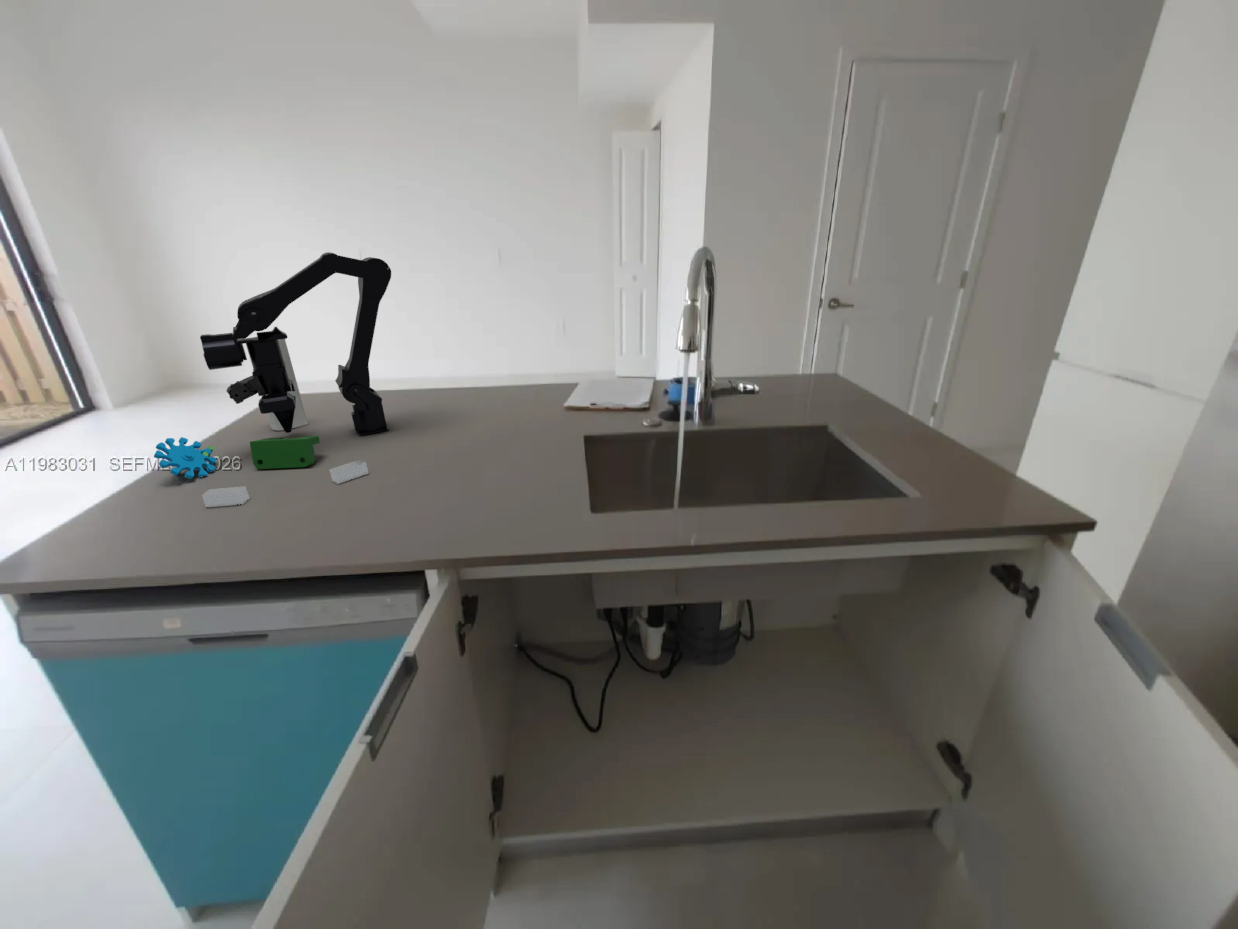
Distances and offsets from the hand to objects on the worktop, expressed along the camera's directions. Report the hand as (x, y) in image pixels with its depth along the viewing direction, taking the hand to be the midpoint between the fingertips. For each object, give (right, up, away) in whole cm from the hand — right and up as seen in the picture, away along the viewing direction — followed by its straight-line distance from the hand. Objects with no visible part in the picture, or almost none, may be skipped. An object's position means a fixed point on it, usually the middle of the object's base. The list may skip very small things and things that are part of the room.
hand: (288, 432), depth 121 cm
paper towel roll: (-8, +2, +13) cm, 15 cm away
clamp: (+5, -7, -8) cm, 12 cm away
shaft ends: (+13, -12, -20) cm, 26 cm away
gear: (-12, -9, -12) cm, 19 cm away
